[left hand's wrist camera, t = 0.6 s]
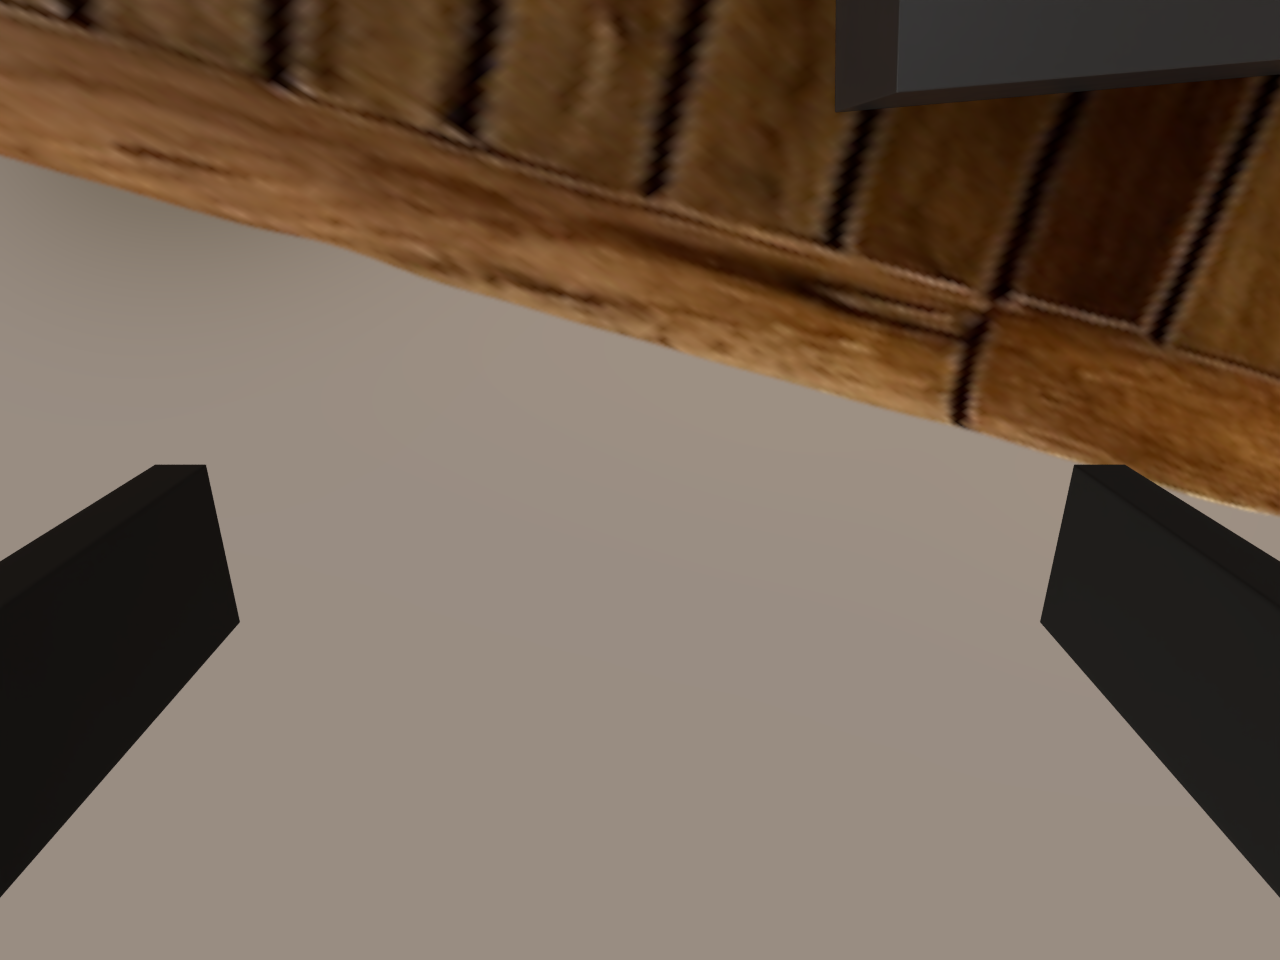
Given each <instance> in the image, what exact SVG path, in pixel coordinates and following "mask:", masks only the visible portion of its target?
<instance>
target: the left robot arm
mask: <svg viewBox="0 0 1280 960" xmlns="http://www.w3.org/2000/svg"><path fill="white" fill-rule="evenodd" d="M239 622H240V621H239V616H238V611H237V607H236V602H235V597H234V593H233V588H232V584H231V579H230V574H229V570H228V565H227V560H226V556H225V551H224V547H223V542H222V537H221V533H220V528H219V523H218V519H217V514H216V509H215V505H214V500H213V495H212V491H211V486H210V482H209V477H208V472H207V468H206V465H154V466H152V467H151V468H149V469H148V470H146V471H144V472H143V473H141V474H140V475H138V476H136V477H135V478H133V479H132V480H130V481H128V482H127V483H125V484H124V485H122V486H120V487H119V488H117V489H116V490H114V491H112V492H111V493H109V494H108V495H106V496H104V497H103V498H101V499H99V500H98V501H96V502H95V503H93V504H92V505H90V506H88V507H87V508H85V509H83V510H82V511H80V512H79V513H77V514H75V515H74V516H72V517H71V518H69V519H67V520H66V521H64V522H63V523H61V524H59V525H58V526H56V527H55V528H53V529H51V530H50V531H48V532H47V533H45V534H43V535H42V536H40V537H39V538H37V539H35V540H34V541H32V542H31V543H29V544H27V545H26V546H24V547H23V548H21V549H19V550H18V551H16V552H15V553H13V554H11V555H10V556H8V557H7V558H5V559H3V560H2V561H0V897H1V896H2V895H3V894H4V893H5V891H6V890H7V889H8V888H9V887H10V886H11V884H12V883H13V882H14V881H15V880H16V879H17V878H18V876H19V875H20V874H21V873H22V872H23V871H24V870H25V868H26V867H27V866H28V865H29V864H30V863H31V861H32V860H33V859H34V858H35V857H36V856H37V855H38V853H39V852H40V851H41V850H42V849H43V848H44V847H45V845H46V844H47V843H48V842H49V841H50V840H51V839H52V837H53V836H54V835H55V834H56V833H57V832H58V830H59V829H60V828H61V827H62V826H63V825H64V824H65V822H66V821H67V820H68V819H69V818H70V817H71V816H72V814H73V813H74V812H75V811H76V810H77V809H78V807H79V806H80V805H81V804H82V803H83V802H84V801H85V799H86V798H87V797H88V796H89V795H90V794H91V793H92V791H93V790H94V789H95V788H96V787H97V786H98V784H99V783H100V782H101V781H102V780H103V779H104V778H105V776H106V775H107V774H108V773H109V772H110V771H111V769H112V768H113V767H114V766H115V765H116V764H117V763H118V762H119V760H120V759H121V758H122V757H123V756H124V755H125V753H126V752H127V751H128V750H129V749H130V748H131V747H132V745H133V744H134V743H135V742H136V741H137V740H138V739H139V737H140V736H141V735H142V734H143V733H144V732H145V730H146V729H147V728H148V727H149V726H150V725H151V724H152V722H153V721H154V720H155V719H156V718H157V717H158V716H159V714H160V713H161V712H162V711H163V710H164V709H165V707H166V706H167V705H168V704H169V703H170V702H171V701H172V699H173V698H174V697H175V696H176V695H177V694H178V693H179V691H180V690H181V689H182V688H183V687H184V686H185V684H186V683H187V682H188V681H189V680H190V679H191V678H192V676H193V675H194V674H195V673H196V672H197V671H198V669H199V668H200V667H201V666H202V665H203V664H204V663H205V661H206V660H207V659H208V658H209V657H210V656H211V655H212V653H213V652H214V651H215V650H216V649H217V648H218V647H219V645H220V644H221V643H222V642H223V641H224V640H225V638H226V637H227V636H228V635H229V634H230V633H231V632H232V630H233V629H234V628H235V627H236V626H237V625H238V624H239ZM1040 622H1041V624H1042V625H1043V626H1044V627H1045V628H1046V629H1047V630H1048V632H1049V633H1050V634H1051V635H1052V636H1053V637H1054V639H1055V640H1056V641H1057V642H1058V643H1059V644H1060V645H1061V647H1062V648H1063V649H1064V650H1065V651H1066V652H1067V653H1068V655H1069V656H1070V657H1071V658H1072V659H1073V660H1074V661H1075V663H1076V664H1077V665H1078V666H1079V667H1080V668H1081V670H1082V671H1083V672H1084V673H1085V674H1086V675H1087V676H1088V678H1089V679H1090V680H1091V681H1092V682H1093V683H1094V685H1095V686H1096V687H1097V688H1098V689H1099V690H1100V691H1101V693H1102V694H1103V695H1104V696H1105V697H1106V698H1107V699H1108V701H1109V702H1110V703H1111V704H1112V705H1113V706H1114V707H1115V709H1116V710H1117V711H1118V712H1119V713H1120V714H1121V716H1122V717H1123V718H1124V719H1125V720H1126V721H1127V722H1128V724H1129V725H1130V726H1131V727H1132V728H1133V729H1134V730H1135V732H1136V733H1137V734H1138V735H1139V736H1140V737H1141V739H1142V740H1143V741H1144V742H1145V743H1146V744H1147V745H1148V747H1149V748H1150V749H1151V750H1152V751H1153V752H1154V753H1155V755H1156V756H1157V757H1158V758H1159V759H1160V760H1161V762H1162V763H1163V764H1164V765H1165V766H1166V767H1167V768H1168V770H1169V771H1170V772H1171V773H1172V774H1173V775H1174V776H1175V778H1176V779H1177V780H1178V781H1179V782H1180V783H1181V784H1182V786H1183V787H1184V788H1185V789H1186V790H1187V791H1188V793H1189V794H1190V795H1191V796H1192V797H1193V798H1194V799H1195V801H1196V802H1197V803H1198V804H1199V805H1200V806H1201V807H1202V809H1203V810H1204V811H1205V812H1206V813H1207V814H1208V816H1209V817H1210V818H1211V819H1212V820H1213V821H1214V822H1215V824H1216V825H1217V826H1218V827H1219V828H1220V829H1221V830H1222V832H1223V833H1224V834H1225V835H1226V836H1227V837H1228V839H1229V840H1230V841H1231V842H1232V843H1233V844H1234V845H1235V847H1236V848H1237V849H1238V850H1239V851H1240V852H1241V853H1242V855H1243V856H1244V857H1245V858H1246V859H1247V860H1248V861H1249V863H1250V864H1251V865H1252V866H1253V867H1254V868H1255V870H1256V871H1257V872H1258V873H1259V874H1260V875H1261V876H1262V878H1263V879H1264V880H1265V881H1266V882H1267V883H1268V884H1269V886H1270V887H1271V888H1272V889H1273V890H1274V891H1275V893H1276V894H1277V895H1278V896H1279V897H1280V561H1278V560H1277V559H1275V558H1273V557H1272V556H1270V555H1269V554H1267V553H1265V552H1264V551H1262V550H1261V549H1259V548H1257V547H1256V546H1254V545H1253V544H1251V543H1249V542H1248V541H1246V540H1245V539H1243V538H1241V537H1240V536H1238V535H1237V534H1235V533H1233V532H1232V531H1230V530H1228V529H1227V528H1225V527H1224V526H1222V525H1221V524H1219V523H1217V522H1216V521H1214V520H1213V519H1211V518H1209V517H1208V516H1206V515H1205V514H1203V513H1201V512H1200V511H1198V510H1197V509H1195V508H1193V507H1192V506H1190V505H1189V504H1187V503H1185V502H1184V501H1182V500H1180V499H1179V498H1177V497H1176V496H1174V495H1172V494H1171V493H1169V492H1168V491H1166V490H1164V489H1163V488H1161V487H1160V486H1158V485H1156V484H1155V483H1153V482H1152V481H1150V480H1148V479H1147V478H1145V477H1144V476H1142V475H1140V474H1139V473H1137V472H1136V471H1134V470H1132V469H1131V468H1129V467H1128V466H1126V465H1074V468H1073V472H1072V477H1071V482H1070V486H1069V491H1068V495H1067V500H1066V505H1065V509H1064V514H1063V519H1062V523H1061V528H1060V533H1059V537H1058V542H1057V546H1056V551H1055V556H1054V560H1053V565H1052V570H1051V575H1050V579H1049V583H1048V588H1047V593H1046V598H1045V602H1044V607H1043V611H1042V616H1041V621H1040Z"/></svg>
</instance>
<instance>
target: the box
mask: <svg viewBox="0 0 1280 960" xmlns="http://www.w3.org/2000/svg"><path fill="white" fill-rule="evenodd" d="M1277 74H1280V0H836V66H835V112H846V111H858V110H869V109H881V108H893V107H904V106H916V105H927V104H939V103H951V102H962V101H974V100H986V99H997V98H1009V97H1021V96H1032V95H1044V94H1056V93H1067V92H1079V91H1091V90H1102V89H1114V88H1126V87H1137V86H1149V85H1161V84H1172V83H1184V82H1196V81H1207V80H1219V79H1231V78H1242V77H1254V76H1265V75H1277Z"/></svg>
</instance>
